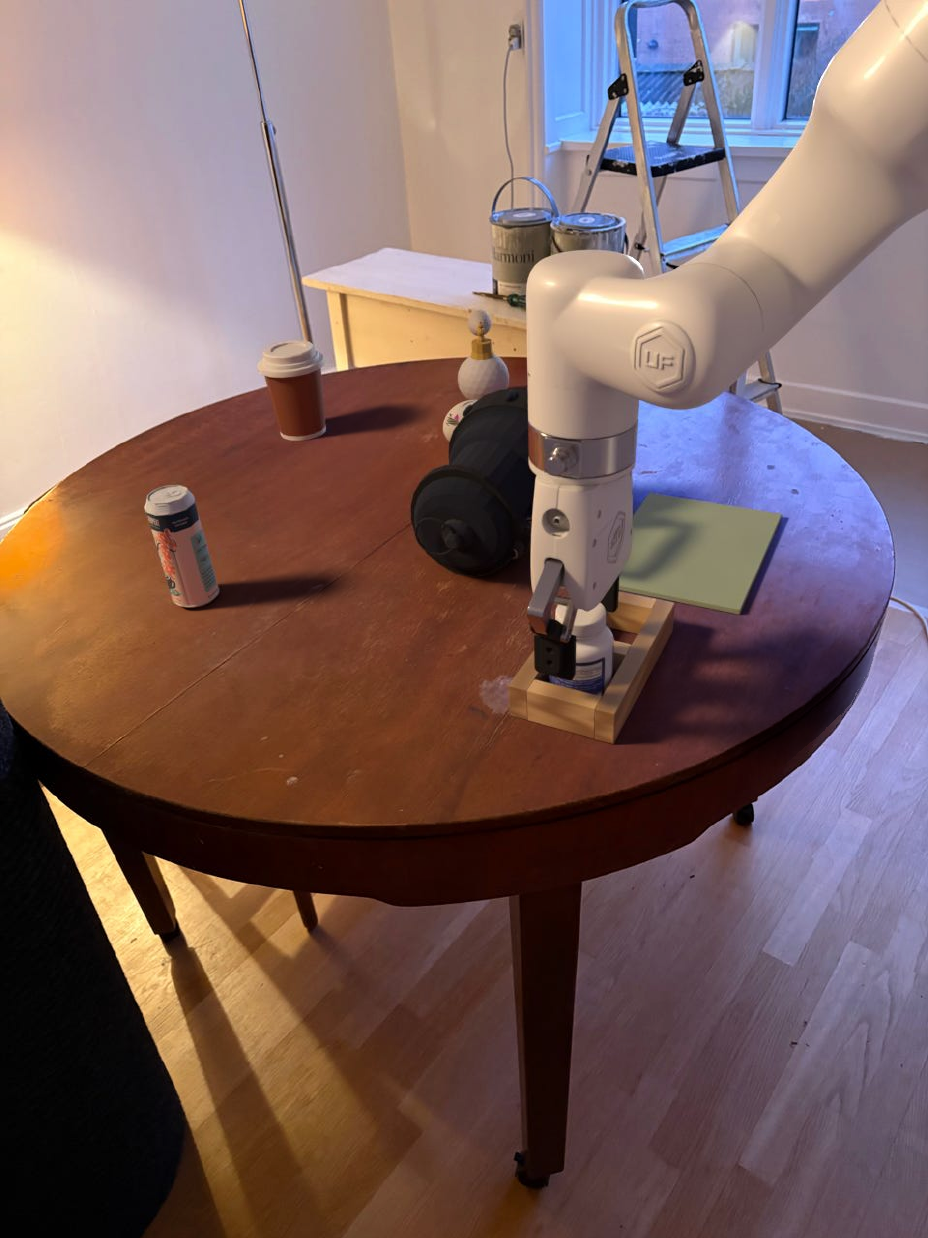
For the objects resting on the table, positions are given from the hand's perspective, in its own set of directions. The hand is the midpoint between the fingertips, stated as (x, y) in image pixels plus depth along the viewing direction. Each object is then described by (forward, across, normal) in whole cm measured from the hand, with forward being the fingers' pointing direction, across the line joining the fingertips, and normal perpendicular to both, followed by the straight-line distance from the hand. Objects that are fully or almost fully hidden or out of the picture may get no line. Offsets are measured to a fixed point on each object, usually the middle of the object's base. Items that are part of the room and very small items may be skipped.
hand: (577, 639), depth 72 cm
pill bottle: (+6, 0, 0) cm, 6 cm away
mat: (+6, +27, -2) cm, 27 cm away
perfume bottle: (+7, +59, +38) cm, 70 cm away
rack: (+6, +4, 0) cm, 7 cm away
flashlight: (+6, +21, +15) cm, 26 cm away
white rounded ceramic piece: (+6, +42, +31) cm, 52 cm away
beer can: (+7, 0, +42) cm, 42 cm away
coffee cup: (+7, +40, +57) cm, 70 cm away
